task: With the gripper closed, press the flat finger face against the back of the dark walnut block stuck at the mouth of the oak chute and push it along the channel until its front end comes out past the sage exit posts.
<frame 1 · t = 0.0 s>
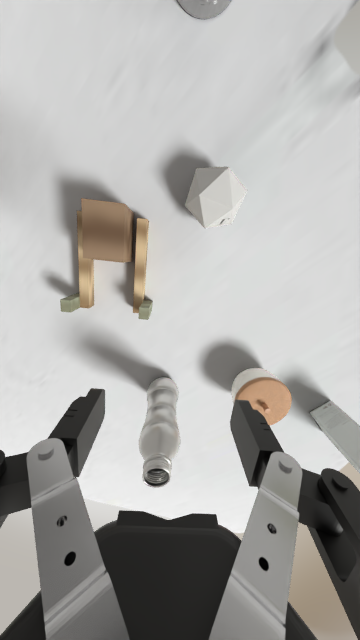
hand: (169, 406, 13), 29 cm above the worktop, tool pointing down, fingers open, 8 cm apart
plastic bottle: (163, 385, 46), on the worktop
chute: (115, 265, 38), on the worktop
block: (110, 234, 34), point 4 cm above the worktop, slide at 0.0 cm
skincare box: (327, 415, 50), on the worktop
die: (210, 204, 36), on the worktop
lidded jar: (249, 380, 47), on the worktop
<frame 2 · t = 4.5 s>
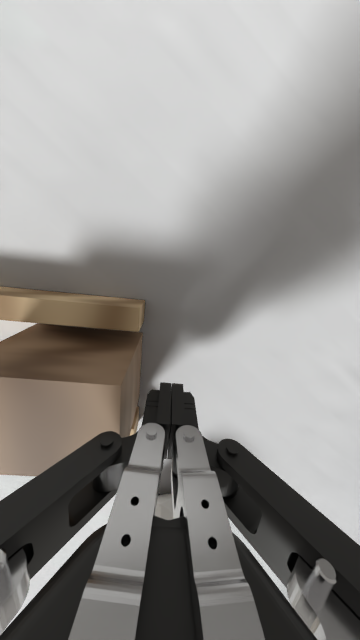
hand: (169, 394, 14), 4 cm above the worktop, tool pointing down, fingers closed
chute: (41, 358, 17), on the worktop
block: (71, 388, 14), point 3 cm above the worktop, slide at 1.1 cm, touching gripper
die: (171, 500, 22), on the worktop
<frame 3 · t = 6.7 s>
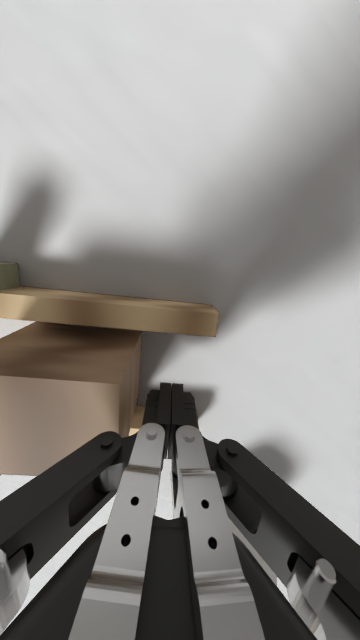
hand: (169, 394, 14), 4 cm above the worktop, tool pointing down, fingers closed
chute: (105, 362, 17), on the worktop
block: (69, 387, 13), point 3 cm above the worktop, slide at 6.2 cm, touching gripper
die: (218, 502, 23), on the worktop
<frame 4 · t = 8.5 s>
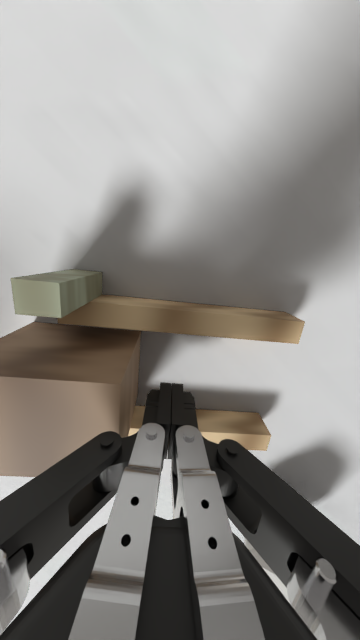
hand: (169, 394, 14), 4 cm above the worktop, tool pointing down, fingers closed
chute: (176, 367, 17), on the worktop
block: (69, 388, 13), point 4 cm above the worktop, slide at 12.0 cm, touching gripper
die: (268, 501, 23), on the worktop
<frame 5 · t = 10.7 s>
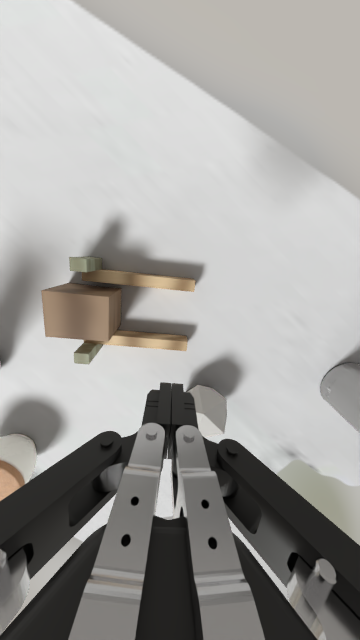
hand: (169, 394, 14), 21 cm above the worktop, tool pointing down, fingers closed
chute: (140, 308, 34), on the worktop
block: (87, 310, 30), point 4 cm above the worktop, slide at 12.0 cm
die: (199, 396, 39), on the worktop
lidded jar: (20, 444, 41), on the worktop
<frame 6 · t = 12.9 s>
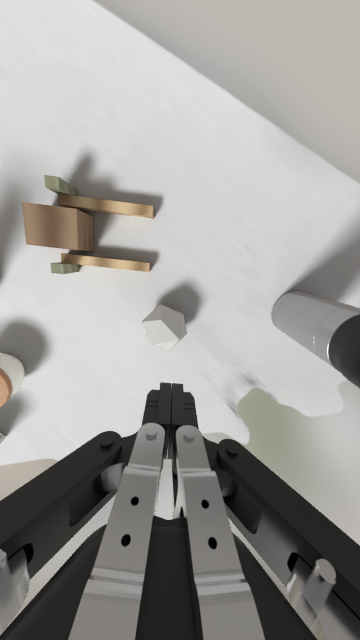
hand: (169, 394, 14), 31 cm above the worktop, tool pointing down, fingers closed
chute: (109, 236, 39), on the worktop
block: (62, 229, 36), point 4 cm above the worktop, slide at 12.0 cm
die: (165, 321, 45), on the worktop
lidded jar: (10, 366, 47), on the worktop
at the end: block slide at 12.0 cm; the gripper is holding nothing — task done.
